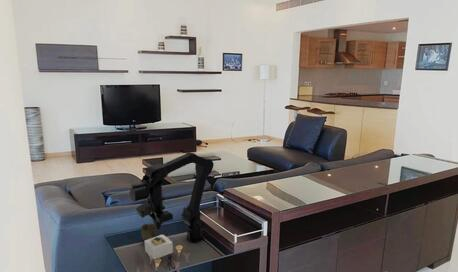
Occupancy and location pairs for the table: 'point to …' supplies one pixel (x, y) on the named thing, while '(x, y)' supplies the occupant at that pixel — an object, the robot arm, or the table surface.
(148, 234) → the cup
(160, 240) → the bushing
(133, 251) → the table surface
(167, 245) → the jig
